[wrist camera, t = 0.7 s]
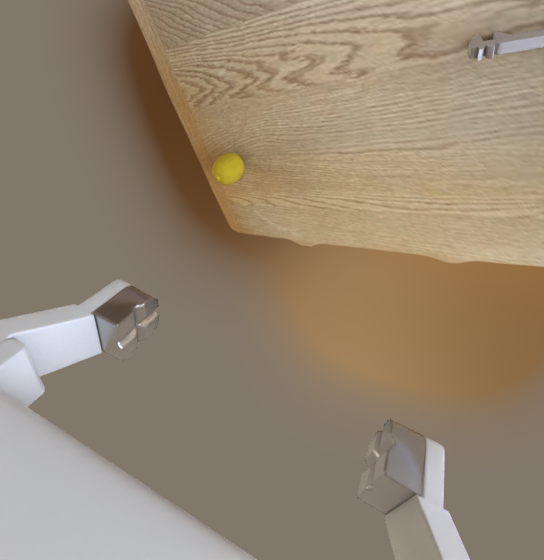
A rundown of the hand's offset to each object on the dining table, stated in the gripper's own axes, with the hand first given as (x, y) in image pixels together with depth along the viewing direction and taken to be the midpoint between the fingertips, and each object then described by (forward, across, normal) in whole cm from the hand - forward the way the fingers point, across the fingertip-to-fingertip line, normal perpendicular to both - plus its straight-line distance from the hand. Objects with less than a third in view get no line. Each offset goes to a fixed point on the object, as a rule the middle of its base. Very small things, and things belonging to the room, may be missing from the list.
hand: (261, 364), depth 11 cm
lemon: (+54, +28, +18) cm, 64 cm away
